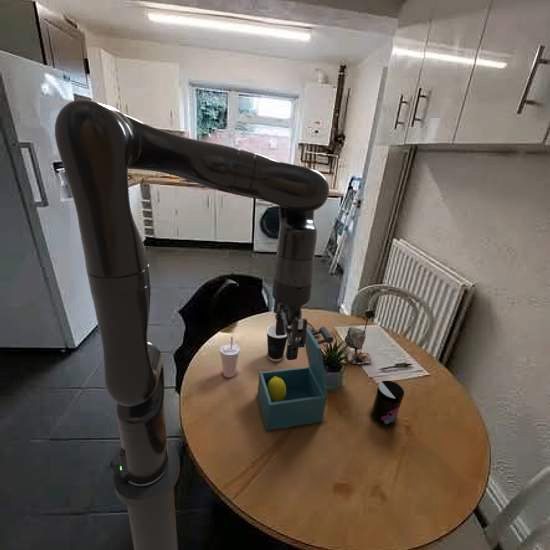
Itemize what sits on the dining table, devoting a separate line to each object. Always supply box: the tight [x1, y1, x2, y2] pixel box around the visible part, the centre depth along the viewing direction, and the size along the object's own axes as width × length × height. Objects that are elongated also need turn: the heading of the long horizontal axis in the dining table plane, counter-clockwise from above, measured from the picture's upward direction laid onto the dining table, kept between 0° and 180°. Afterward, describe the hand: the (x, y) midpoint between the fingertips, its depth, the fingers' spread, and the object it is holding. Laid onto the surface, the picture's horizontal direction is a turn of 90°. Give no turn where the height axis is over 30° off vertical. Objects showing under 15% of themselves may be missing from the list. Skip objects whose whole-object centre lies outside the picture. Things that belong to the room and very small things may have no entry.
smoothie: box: [219, 335, 241, 379], centre depth 97 cm, size 6×6×14 cm
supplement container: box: [371, 380, 405, 427], centre depth 86 cm, size 7×7×10 cm
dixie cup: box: [265, 324, 287, 362], centre depth 108 cm, size 8×8×11 cm
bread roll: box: [290, 322, 320, 338], centre depth 126 cm, size 11×8×4 cm
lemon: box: [267, 376, 286, 402], centre depth 88 cm, size 6×6×8 cm
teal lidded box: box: [257, 365, 327, 431], centre depth 87 cm, size 16×13×9 cm
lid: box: [305, 326, 334, 397], centre depth 84 cm, size 16×13×6 cm
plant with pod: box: [341, 308, 376, 365], centre depth 109 cm, size 8×11×20 cm
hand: (285, 346), depth 66 cm, fingers open, 8 cm apart
